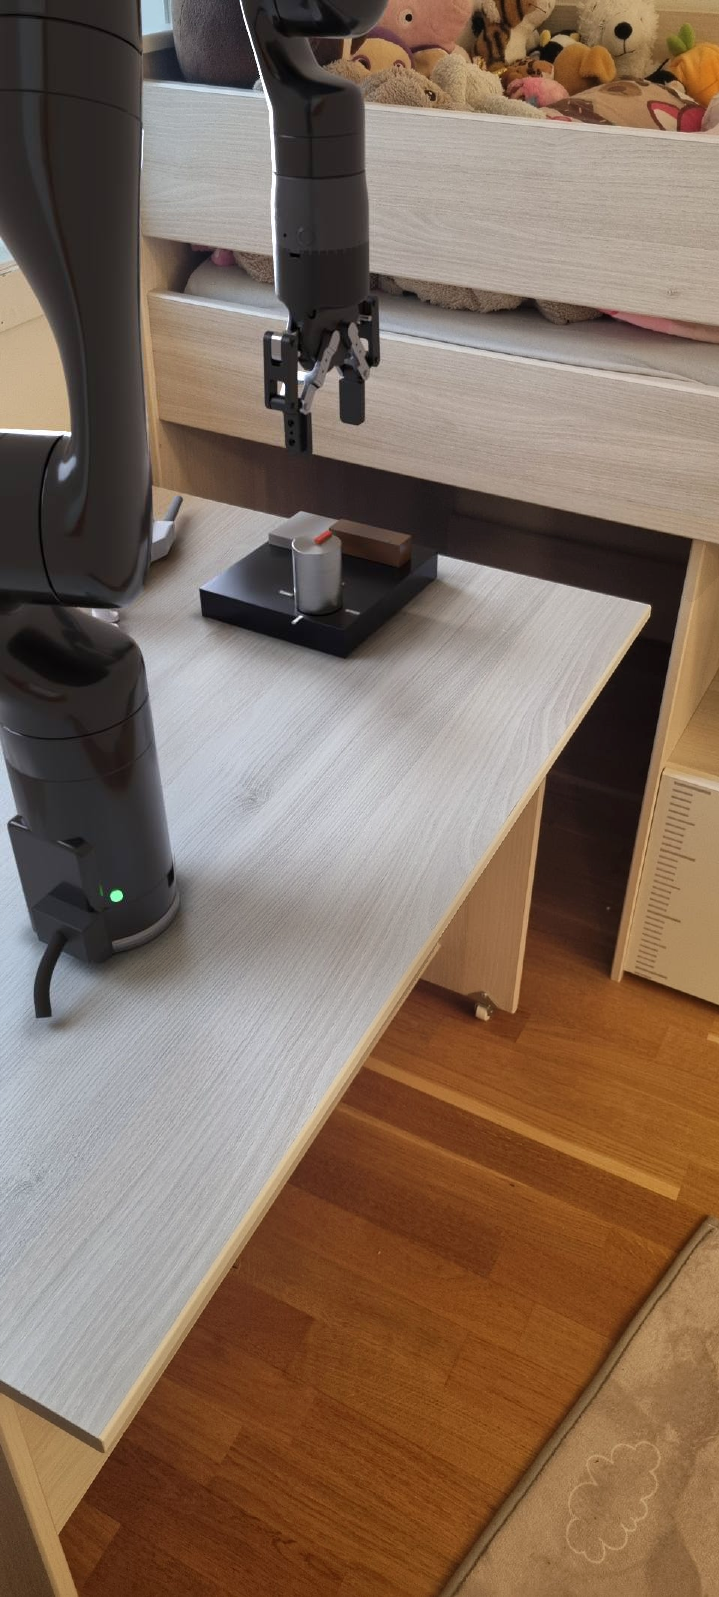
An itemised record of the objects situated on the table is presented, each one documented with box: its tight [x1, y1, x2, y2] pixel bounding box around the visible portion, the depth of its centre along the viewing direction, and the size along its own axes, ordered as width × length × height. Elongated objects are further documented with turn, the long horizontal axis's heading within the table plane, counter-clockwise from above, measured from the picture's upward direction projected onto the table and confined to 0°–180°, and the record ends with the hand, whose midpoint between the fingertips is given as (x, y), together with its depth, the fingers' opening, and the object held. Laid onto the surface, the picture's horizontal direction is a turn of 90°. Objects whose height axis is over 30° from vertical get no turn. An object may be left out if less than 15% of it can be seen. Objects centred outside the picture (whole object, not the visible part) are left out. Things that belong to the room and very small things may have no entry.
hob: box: [198, 540, 439, 660], centre depth 116 cm, size 19×16×3 cm
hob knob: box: [292, 531, 343, 615], centre depth 108 cm, size 4×4×6 cm
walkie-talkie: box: [150, 495, 184, 563], centre depth 125 cm, size 9×4×20 cm
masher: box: [268, 510, 413, 568], centre depth 118 cm, size 14×6×2 cm, turn 59°
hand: (326, 438), depth 102 cm, fingers open, 8 cm apart
